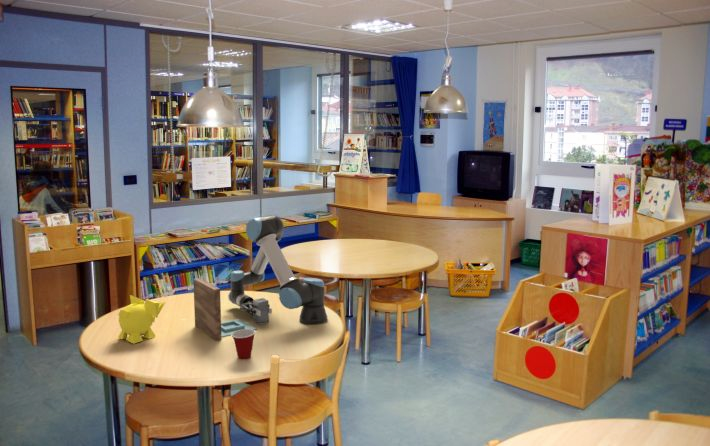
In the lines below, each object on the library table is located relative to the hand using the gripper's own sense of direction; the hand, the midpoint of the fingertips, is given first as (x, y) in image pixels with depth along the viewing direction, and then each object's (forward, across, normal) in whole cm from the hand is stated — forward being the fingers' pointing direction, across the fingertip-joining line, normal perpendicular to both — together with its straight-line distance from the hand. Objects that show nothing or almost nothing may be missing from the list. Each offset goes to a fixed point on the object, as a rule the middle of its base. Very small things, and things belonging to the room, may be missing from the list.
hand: (265, 312), depth 326 cm
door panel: (-5, +30, -6) cm, 32 cm away
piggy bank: (-20, +61, -7) cm, 64 cm away
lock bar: (-5, 0, -6) cm, 8 cm away
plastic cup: (+35, +31, -7) cm, 47 cm away
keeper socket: (-5, +18, -6) cm, 20 cm away
